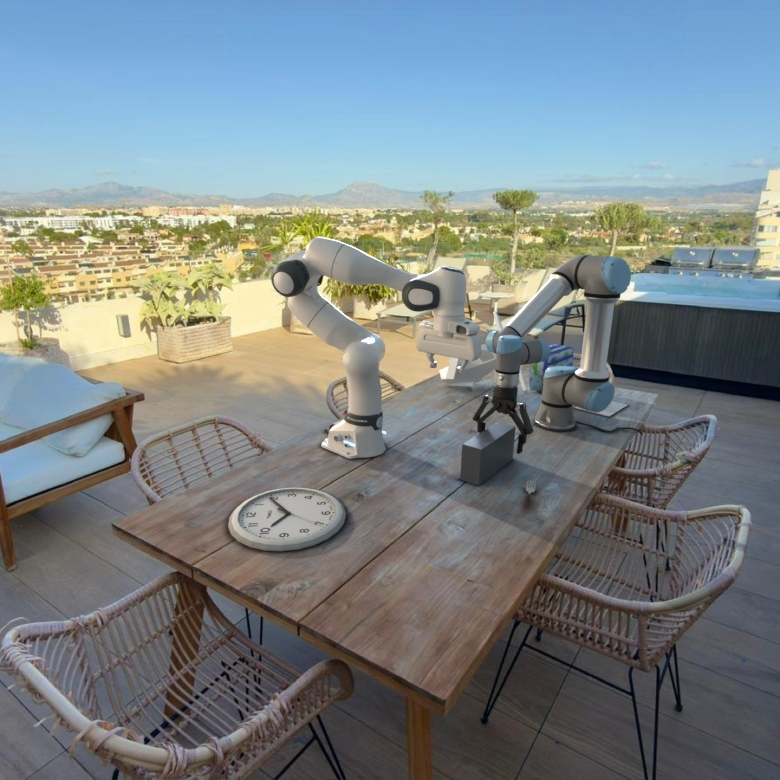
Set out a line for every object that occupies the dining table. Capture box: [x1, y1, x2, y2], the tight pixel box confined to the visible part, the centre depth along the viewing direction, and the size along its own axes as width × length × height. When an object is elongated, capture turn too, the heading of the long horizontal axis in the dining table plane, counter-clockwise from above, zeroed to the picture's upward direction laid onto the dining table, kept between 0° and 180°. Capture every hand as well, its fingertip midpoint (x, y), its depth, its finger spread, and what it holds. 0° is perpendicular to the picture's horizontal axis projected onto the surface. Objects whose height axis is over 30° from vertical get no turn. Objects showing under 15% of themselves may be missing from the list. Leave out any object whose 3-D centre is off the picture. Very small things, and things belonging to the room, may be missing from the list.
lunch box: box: [528, 344, 574, 393], centre depth 247 cm, size 26×11×21 cm, turn 134°
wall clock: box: [227, 487, 347, 552], centre depth 136 cm, size 30×2×30 cm
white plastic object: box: [438, 310, 531, 397], centre depth 245 cm, size 37×45×31 cm
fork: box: [525, 478, 537, 511], centre depth 148 cm, size 3×16×2 cm, turn 160°
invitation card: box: [573, 400, 629, 418], centre depth 226 cm, size 21×1×15 cm
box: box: [459, 421, 517, 487], centre depth 164 cm, size 24×6×12 cm, turn 143°
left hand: (446, 370), depth 155 cm, fingers open, 8 cm apart
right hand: (500, 447), depth 171 cm, fingers open, 13 cm apart
